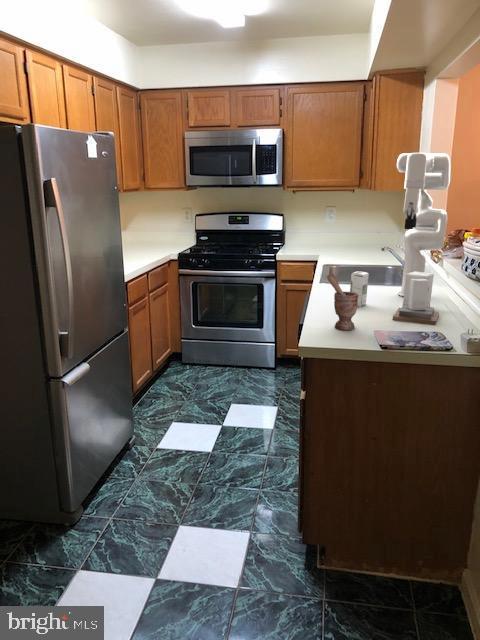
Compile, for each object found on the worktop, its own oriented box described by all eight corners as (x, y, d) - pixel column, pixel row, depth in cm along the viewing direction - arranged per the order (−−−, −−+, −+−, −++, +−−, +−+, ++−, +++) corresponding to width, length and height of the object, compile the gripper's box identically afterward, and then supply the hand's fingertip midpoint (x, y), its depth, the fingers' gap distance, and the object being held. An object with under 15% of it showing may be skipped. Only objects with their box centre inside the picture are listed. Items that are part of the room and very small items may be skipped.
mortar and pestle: (324, 330, 188) (327, 276, 183) (324, 323, 196) (326, 272, 191) (356, 331, 187) (360, 277, 181) (354, 325, 195) (358, 273, 190)
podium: (398, 311, 216) (399, 302, 216) (438, 315, 210) (439, 307, 209) (392, 320, 202) (393, 311, 202) (435, 324, 196) (436, 316, 195)
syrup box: (353, 302, 230) (356, 270, 226) (366, 304, 227) (368, 272, 223) (348, 305, 226) (350, 272, 222) (361, 307, 222) (363, 274, 219)
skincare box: (422, 307, 208) (425, 278, 204) (426, 310, 203) (429, 280, 200) (407, 307, 207) (410, 278, 204) (410, 310, 203) (414, 280, 200)
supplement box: (421, 311, 217) (425, 276, 213) (401, 307, 223) (405, 273, 219) (430, 307, 223) (434, 273, 219) (411, 304, 229) (414, 270, 225)
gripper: (407, 184, 215) (403, 226, 220) (401, 185, 200) (397, 229, 204) (426, 185, 212) (422, 227, 217) (421, 185, 197) (417, 230, 201)
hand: (410, 228), depth 211 cm, fingers open, 9 cm apart
